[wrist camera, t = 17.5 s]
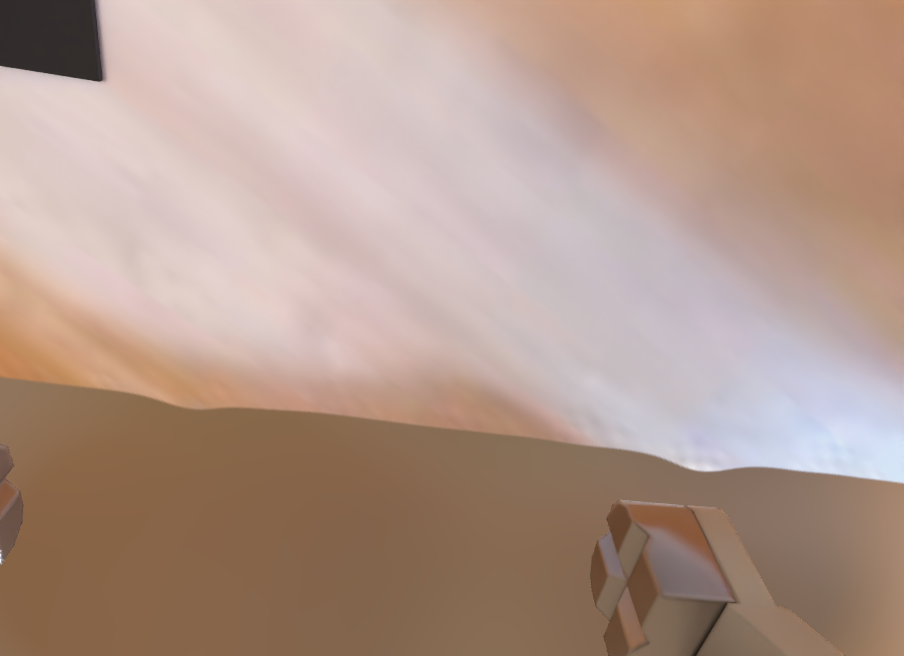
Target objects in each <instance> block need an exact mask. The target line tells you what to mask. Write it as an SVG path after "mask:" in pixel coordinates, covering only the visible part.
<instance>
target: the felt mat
mask: <svg viewBox="0 0 904 656" xmlns="http://www.w3.org/2000/svg"><path fill="white" fill-rule="evenodd" d="M0 66H5V67H11V68H18V69H24V70H30V71H36V72H43V73H49V74H55V75H61V76H68V77H74V78H80V79H86V80H93V81H102V70H101V61H100V51H99V41H98V31H97V22H96V12H95V2H94V0H0Z"/></svg>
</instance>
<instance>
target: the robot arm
mask: <svg viewBox="0 0 904 656" xmlns="http://www.w3.org/2000/svg"><path fill="white" fill-rule="evenodd" d="M13 467H14V464H13V460H12V457H11V454H10V450H9V447H8V446H6V445H3V444H1V443H0V565H1V564H2V563H3V562H4V560H5V559H6V557H7V555H8V554H9V552H10V551H11V549H12V548H13V546H14V545H15V542H16V539H17V536H18V533H19V530H20V527H21V524H22V518H23V501H22V497H21V493H20V491H19V490H18V489H17V488H16V487H15V486H14V485H13V484H12V483H11V482H9V481H8V480H7V479H6V478H5V477H6V475H7V474H8V473H9V472H10V470H11V469H12V468H13ZM607 522H608V525H609V528H610V532H609V533H608V534H606V535H605V536H603V537H602V538H600V539H599V540H598V541H597V544H596V546H595V549H594V552H593V555H592V561H591V572H590V579H591V588H592V594H593V598H594V602H595V606H596V608H597V609H598V610H599V611H600V612H601V613H602V614H603V615H604V616H605V617H606V618H607V619H608V620H609V622H610V623H609V625H608V627H607V629H606V631H605V633H604V636H603V637H604V641H605V644H606V648H607V652H608V656H845V655H844V654H842V653H841V652H840V651H839V650H837V649H836V648H835V647H834V646H832V645H831V644H830V643H829V642H828V641H827V640H825V639H824V638H823V637H822V636H821V635H819V634H818V633H817V632H816V631H814V630H813V629H812V628H811V627H810V626H808V625H807V624H806V623H805V622H804V621H802V620H801V619H800V618H799V617H798V616H796V615H795V614H794V613H793V612H791V611H790V610H789V609H788V608H785V607H776V605H775V603H774V601H773V599H772V598H771V596H770V594H769V592H768V590H767V588H766V586H765V585H764V583H763V581H762V579H761V577H760V575H759V574H758V572H757V570H756V568H755V566H754V564H753V562H752V561H751V559H750V557H749V555H748V553H747V551H746V549H745V547H744V546H743V544H742V542H741V540H740V538H739V537H738V535H737V533H736V531H735V529H734V527H733V525H732V523H731V522H730V520H729V518H728V516H727V515H726V514H725V513H724V512H723V511H722V510H721V509H720V508H712V507H699V506H687V505H686V506H681V505H673V504H661V503H649V502H637V501H625V500H618V501H617V502H616V503H615V504H614V505H612V507H611V509H610V512H609V514H608V516H607Z"/></svg>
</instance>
